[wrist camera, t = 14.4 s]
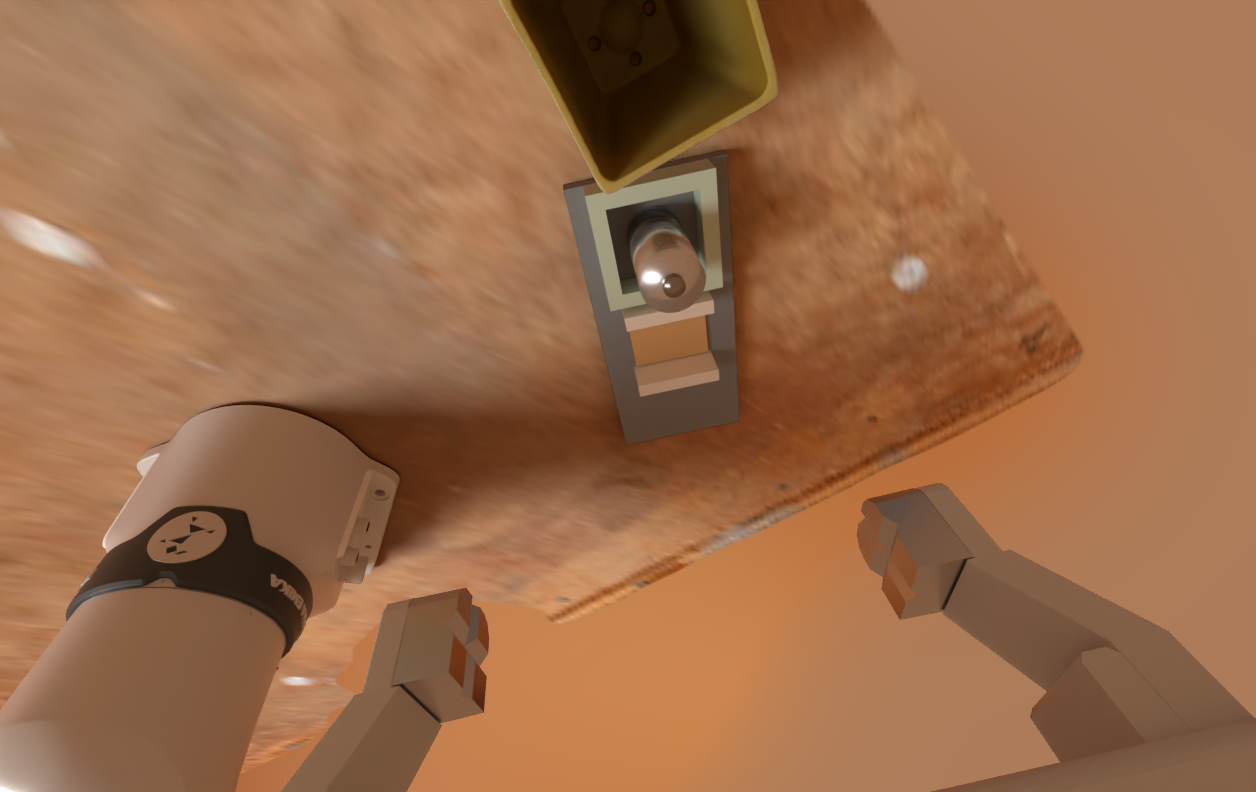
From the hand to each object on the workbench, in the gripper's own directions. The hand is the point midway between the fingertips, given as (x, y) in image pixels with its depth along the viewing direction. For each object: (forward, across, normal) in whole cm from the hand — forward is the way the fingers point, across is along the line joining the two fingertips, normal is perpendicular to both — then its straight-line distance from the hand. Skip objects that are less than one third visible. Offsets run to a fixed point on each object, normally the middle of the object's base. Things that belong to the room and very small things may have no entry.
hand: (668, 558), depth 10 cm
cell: (+26, -4, +4) cm, 26 cm away
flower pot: (+27, -4, -7) cm, 28 cm away
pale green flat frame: (+27, -4, +4) cm, 27 cm away
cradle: (+27, -4, +11) cm, 30 cm away
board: (+27, -4, +11) cm, 29 cm away
